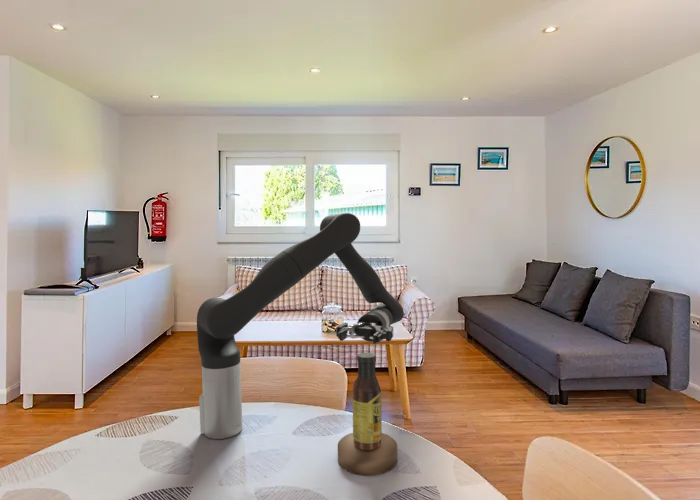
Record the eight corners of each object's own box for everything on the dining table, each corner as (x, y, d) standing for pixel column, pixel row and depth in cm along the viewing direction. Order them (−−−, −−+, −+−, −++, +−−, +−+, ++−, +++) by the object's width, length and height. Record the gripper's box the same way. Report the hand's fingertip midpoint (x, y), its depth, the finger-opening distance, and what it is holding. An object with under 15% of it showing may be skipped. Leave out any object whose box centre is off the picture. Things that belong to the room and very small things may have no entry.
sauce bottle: (379, 453, 90) (378, 360, 89) (350, 451, 91) (349, 359, 90) (383, 438, 97) (382, 351, 95) (356, 436, 98) (354, 350, 97)
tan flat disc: (329, 470, 90) (329, 456, 89) (347, 440, 102) (347, 427, 102) (391, 480, 86) (390, 465, 86) (402, 447, 98) (402, 434, 98)
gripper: (349, 309, 122) (329, 320, 106) (399, 312, 117) (386, 325, 102) (349, 335, 122) (329, 350, 106) (398, 340, 118) (386, 356, 102)
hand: (357, 338), depth 104 cm, fingers open, 8 cm apart
